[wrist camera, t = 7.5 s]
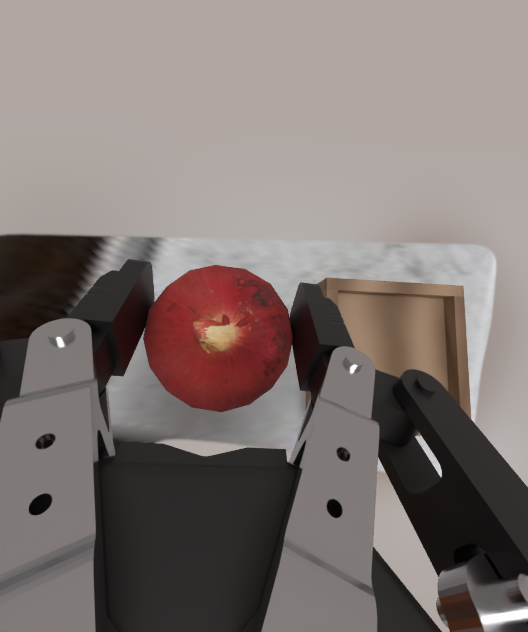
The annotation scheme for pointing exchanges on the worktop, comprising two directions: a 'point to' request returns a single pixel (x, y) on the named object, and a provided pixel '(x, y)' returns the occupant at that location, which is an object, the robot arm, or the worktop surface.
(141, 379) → the worktop surface
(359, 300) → the brown wooden box
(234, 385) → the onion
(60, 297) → the worktop surface
